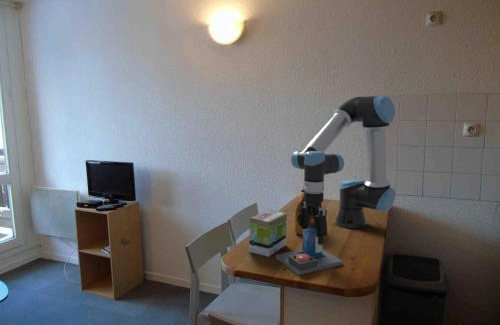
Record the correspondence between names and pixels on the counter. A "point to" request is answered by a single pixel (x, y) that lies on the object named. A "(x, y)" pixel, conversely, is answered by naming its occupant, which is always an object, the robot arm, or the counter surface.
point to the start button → (302, 257)
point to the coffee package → (297, 214)
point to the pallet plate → (308, 262)
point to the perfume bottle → (310, 241)
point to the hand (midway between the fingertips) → (312, 247)
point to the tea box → (267, 232)
